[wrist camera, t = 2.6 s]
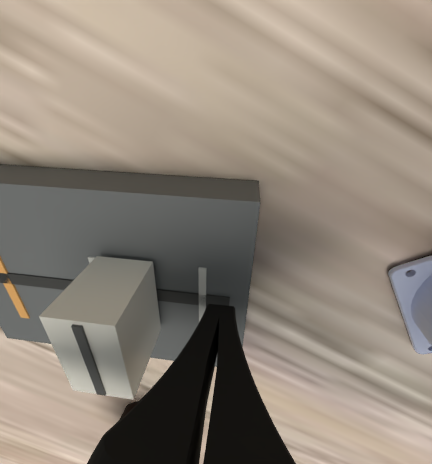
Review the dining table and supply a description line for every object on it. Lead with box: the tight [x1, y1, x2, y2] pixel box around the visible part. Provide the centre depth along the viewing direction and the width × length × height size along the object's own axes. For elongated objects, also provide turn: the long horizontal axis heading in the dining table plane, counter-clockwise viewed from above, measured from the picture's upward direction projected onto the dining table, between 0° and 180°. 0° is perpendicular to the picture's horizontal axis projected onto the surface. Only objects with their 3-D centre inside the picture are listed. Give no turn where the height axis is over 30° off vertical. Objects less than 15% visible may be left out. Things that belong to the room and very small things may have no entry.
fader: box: [39, 256, 161, 400], centre depth 12 cm, size 3×5×4 cm, turn 178°
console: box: [0, 165, 260, 367], centre depth 15 cm, size 17×12×3 cm
